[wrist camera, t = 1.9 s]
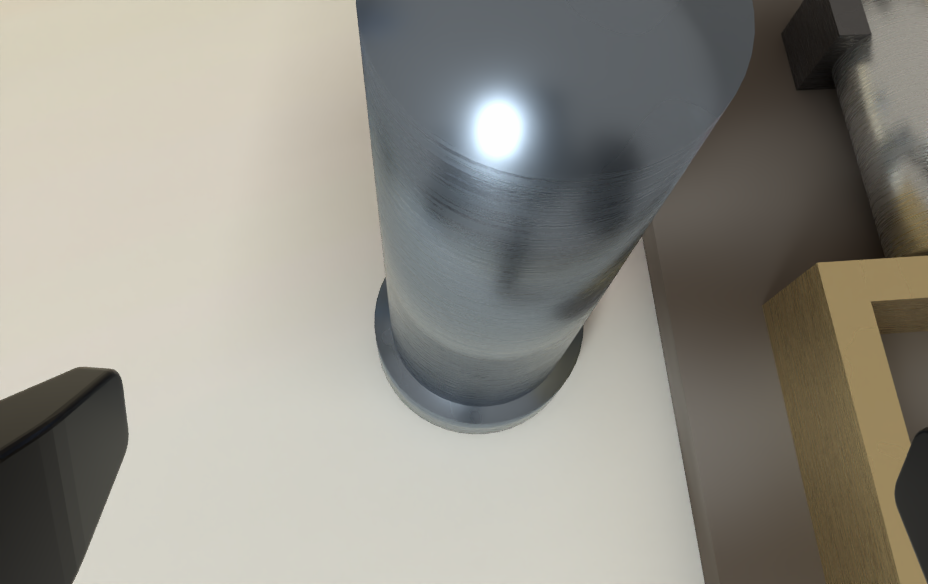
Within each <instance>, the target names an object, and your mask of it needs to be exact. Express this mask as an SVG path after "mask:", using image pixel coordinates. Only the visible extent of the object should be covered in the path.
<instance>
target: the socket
mask: <svg viewBox="0 0 928 584" xmlns="http://www.w3.org/2000/svg"><path fill="white" fill-rule="evenodd" d="M781 36H782V40H783V44H784V47H785V51H786V55H787V58H788V62H789V66H790V69H791V73H792V77H793V81H794V84H795V88H796V91H799V90H822V89H836V91H837V94H838V97H839V101H840V104H841V108H842V111H843V115H844V118H845V121H846V125H847V128H848V132H849V135H850V139H851V142H852V145H853V149H854V152H855V156H856V159H857V162H858V166H859V169H860V173H861V176H862V180H863V183H864V186H865V190H866V193H867V197H868V200H869V204H870V207H871V210H872V214H873V217H874V221H875V224H876V228H877V231H878V234H879V238H880V241H881V245H882V248H883V252H884V255H885V258H882V259H866V260H851V261H835V262H819V263H816V264H815V265H813V266H812V267H811V268H810V269H808V270H807V271H806V272H804V273H803V274H802V275H801V276H799V277H798V278H797V279H796V280H794V281H793V282H792V283H790V284H789V285H788V286H787V287H785V288H784V289H783V290H781V291H780V292H779V293H778V294H776V295H775V296H774V297H772V298H771V299H770V300H769V301H767V302H766V303H765V304H764V305H762V307H763V312H764V316H765V321H766V325H767V329H768V334H769V338H770V342H771V347H772V351H773V355H774V360H775V364H776V368H777V373H778V377H779V382H780V386H781V390H782V395H783V399H784V403H785V408H786V412H787V416H788V421H789V425H790V430H791V434H792V438H793V443H794V447H795V451H796V456H797V460H798V464H799V469H800V473H801V478H802V482H803V486H804V491H805V495H806V499H807V504H808V508H809V512H810V517H811V521H812V525H813V530H814V534H815V539H816V543H817V547H818V552H819V556H820V560H821V565H822V569H823V573H824V578H825V582H826V584H927V582H926V580H925V577H924V575H923V572H922V570H921V567H920V565H919V562H918V560H917V557H916V555H915V552H914V550H913V547H912V545H911V542H910V540H909V537H908V535H907V532H906V529H905V527H904V524H903V522H902V519H901V517H900V514H899V512H898V509H897V506H896V503H895V496H894V491H895V484H896V481H897V478H898V476H899V473H900V471H901V468H902V466H903V463H904V461H905V458H906V456H907V453H908V451H909V448H910V446H911V443H910V440H909V436H908V433H907V429H906V425H905V422H904V418H903V415H902V411H901V408H900V404H899V400H898V397H897V393H896V390H895V386H894V383H893V379H892V375H891V372H890V368H889V365H888V361H887V357H886V354H885V350H884V347H883V343H882V340H881V336H880V334H891V333H905V332H919V331H928V0H804V1H803V2H802V4H801V5H800V7H799V8H798V9H797V11H796V12H795V14H794V15H793V17H792V18H791V20H790V21H789V23H788V24H787V26H786V27H785V29H784V30H783V32H782V33H781Z"/></svg>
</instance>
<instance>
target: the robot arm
mask: <svg viewBox="0 0 928 584" xmlns="http://www.w3.org/2000/svg"><path fill="white" fill-rule="evenodd" d="M128 435H129V433H128V423H127V415H126V407H125V399H124V391H123V384H122V380H121V377H120V375H119V373H118V372H117V371H115V370H114V369H107V368H93V367H77V368H74V369H72V370H70V371H68V372H65V373H63V374H61V375H58V376H56V377H54V378H51V379H49V380H47V381H44V382H42V383H40V384H37V385H35V386H33V387H30V388H28V389H26V390H24V391H21V392H19V393H17V394H14V395H12V396H10V397H7V398H5V399H3V400H0V584H72V583H73V581H74V579H75V577H76V575H77V573H78V571H79V569H80V566H81V564H82V562H83V559H84V557H85V555H86V552H87V550H88V547H89V545H90V542H91V539H92V537H93V534H94V532H95V529H96V527H97V524H98V522H99V519H100V517H101V514H102V512H103V509H104V506H105V504H106V501H107V499H108V496H109V494H110V491H111V489H112V486H113V484H114V481H115V479H116V476H117V474H118V471H119V468H120V466H121V463H122V461H123V458H124V456H125V453H126V449H127V445H128ZM894 496H895V503H896V506H897V509H898V512H899V514H900V517H901V519H902V522H903V524H904V527H905V529H906V532H907V535H908V537H909V540H910V542H911V545H912V547H913V550H914V552H915V555H916V557H917V560H918V562H919V565H920V567H921V570H922V572H923V575H924V577H925V580H926V582H927V584H928V427H925V428H923V429H921V430H919V431H918V432H917V434H916V435H915V437H914V438H913V441H912V443H911V446H910V448H909V451H908V453H907V456H906V458H905V461H904V463H903V466H902V468H901V471H900V473H899V476H898V478H897V481H896V484H895V491H894Z"/></svg>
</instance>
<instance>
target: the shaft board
mask: <svg viewBox="0 0 928 584" xmlns="http://www.w3.org/2000/svg"><path fill="white" fill-rule="evenodd" d="M803 1H804V0H752V2H753V8H754V23H755V35H754V42H753V50H752V55H751V59H750V62H749V65H748V68H747V72H746V75H745V77H744V79H743V81H742V83H741V85H740V87H739V89H738V91H737V93H736V95H735V96H734V98H733V99H732V101H731V102H730V104H729V105H728V107H727V108H726V110H725V111H724V113H723V114H722V116H721V117H720V119H719V120H718V122H717V123H716V125H715V126H714V128H713V129H712V131H711V132H710V134H709V135H708V137H707V138H706V140H705V141H704V143H703V145H702V146H701V148H700V149H699V151H698V152H697V154H696V155H695V157H694V158H693V160H692V161H691V163H690V164H689V166H688V167H687V169H686V170H685V172H684V173H683V175H682V176H681V178H680V179H679V181H678V182H677V184H676V185H675V187H674V188H673V190H672V191H671V193H670V194H669V196H668V197H667V199H666V200H665V202H664V203H663V205H662V206H661V208H660V209H659V211H658V212H657V214H656V215H655V217H654V219H653V220H652V222H651V223H650V225H649V226H648V228H647V229H646V231H645V232H644V234H643V235H642V236H643V242H644V248H645V253H646V259H647V264H648V270H649V275H650V281H651V286H652V292H653V297H654V303H655V309H656V314H657V320H658V325H659V331H660V336H661V342H662V347H663V353H664V358H665V364H666V369H667V375H668V381H669V386H670V392H671V397H672V403H673V408H674V414H675V419H676V425H677V430H678V436H679V442H680V447H681V453H682V458H683V464H684V469H685V475H686V480H687V486H688V491H689V497H690V502H691V508H692V514H693V519H694V525H695V530H696V536H697V541H698V547H699V552H700V558H701V563H702V569H703V575H704V580H705V584H826V582H825V578H824V573H823V569H822V565H821V560H820V556H819V552H818V547H817V543H816V539H815V534H814V530H813V525H812V521H811V517H810V512H809V508H808V504H807V499H806V495H805V491H804V486H803V482H802V478H801V473H800V469H799V464H798V460H797V456H796V451H795V447H794V443H793V438H792V434H791V430H790V425H789V421H788V416H787V412H786V408H785V403H784V399H783V395H782V390H781V386H780V382H779V377H778V373H777V368H776V364H775V360H774V355H773V351H772V347H771V342H770V338H769V334H768V329H767V325H766V321H765V316H764V312H763V307H762V305H764V304H765V303H766V302H767V301H769V300H770V299H771V298H772V297H774V296H775V295H776V294H778V293H779V292H780V291H781V290H783V289H784V288H785V287H787V286H788V285H789V284H790V283H792V282H793V281H794V280H796V279H797V278H798V277H799V276H801V275H802V274H803V273H804V272H806V271H807V270H808V269H810V268H811V267H812V266H813V265H815V264H816V263H819V262H835V261H851V260H866V259H882V258H885V255H884V252H883V248H882V245H881V241H880V238H879V234H878V231H877V228H876V224H875V221H874V217H873V214H872V210H871V207H870V204H869V200H868V197H867V193H866V190H865V186H864V183H863V180H862V176H861V173H860V169H859V166H858V162H857V159H856V156H855V152H854V149H853V145H852V142H851V139H850V135H849V132H848V128H847V125H846V121H845V118H844V115H843V111H842V108H841V104H840V101H839V97H838V94H837V91H836V89H822V90H799V91H796V88H795V84H794V81H793V77H792V73H791V69H790V66H789V62H788V58H787V55H786V51H785V47H784V44H783V40H782V36H781V33H782V32H783V30H784V29H785V27H786V26H787V24H788V23H789V21H790V20H791V18H792V17H793V15H794V14H795V12H796V11H797V9H798V8H799V7H800V5H801V4H802V2H803ZM880 336H881V340H882V343H883V347H884V350H885V354H886V357H887V361H888V365H889V368H890V372H891V375H892V379H893V383H894V386H895V390H896V393H897V397H898V400H899V404H900V408H901V411H902V415H903V418H904V422H905V425H906V429H907V433H908V436H909V440H910V443H912V441H913V438H914V437H915V435H916V434H917V432H918V431H919V430H921V429H923V428H925V427H928V331H919V332H905V333H891V334H880Z"/></svg>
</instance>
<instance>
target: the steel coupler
mask: <svg viewBox="0 0 928 584" xmlns="http://www.w3.org/2000/svg"><path fill="white" fill-rule="evenodd" d="M356 8H357V18H358V27H359V36H360V45H361V54H362V64H363V73H364V82H365V91H366V100H367V110H368V119H369V128H370V137H371V146H372V156H373V165H374V174H375V183H376V192H377V202H378V211H379V220H380V229H381V238H382V248H383V257H384V266H385V275H386V277H385V279H384V281H383V284H382V286H381V288H380V291H379V295H378V298H377V302H376V309H375V333H376V341H377V347H378V352H379V357H380V361H381V365H382V368H383V371H384V373H385V375H386V378H387V380H388V382H389V383H390V385H391V387H392V389H393V390H394V392H395V393H396V394H397V395H398V397H399V398H400V399H401V401H402V402H403V403H404V404H406V405H407V406H408V407H409V408H410V409H411V410H412V411H413V412H415V413H416V414H417V415H419V416H420V417H421V418H423V419H425V420H426V421H428V422H430V423H432V424H434V425H436V426H439V427H441V428H444V429H447V430H451V431H455V432H459V433H467V434H487V433H494V432H499V431H503V430H506V429H510V428H512V427H515V426H517V425H519V424H522V423H523V422H525V421H527V420H528V419H530V418H532V417H533V416H535V415H536V414H537V413H538V412H539V411H541V410H542V409H543V408H544V407H545V406H546V405H547V404H548V403H549V402H550V401H551V400H552V398H553V397H554V396H555V395H556V393H557V392H558V391H559V389H560V388H561V387H562V385H563V384H564V382H565V381H566V380H567V378H568V377H569V375H570V374H571V372H572V370H573V368H574V366H575V364H576V361H577V358H578V355H579V352H580V349H581V344H582V338H583V324H584V323H585V321H586V320H587V318H588V317H589V315H590V314H591V312H592V311H593V309H594V308H595V306H596V305H597V303H598V302H599V300H600V299H601V297H602V296H603V294H604V293H605V291H606V289H607V288H608V286H609V285H610V283H611V282H612V280H613V279H614V277H615V276H616V274H617V273H618V271H619V270H620V268H621V267H622V265H623V264H624V262H625V261H626V259H627V258H628V256H629V255H630V253H631V252H632V250H633V249H634V247H635V246H636V244H637V243H638V241H639V240H640V238H641V237H642V235H643V234H644V232H645V231H646V229H647V228H648V226H649V225H650V223H651V222H652V220H653V219H654V217H655V215H656V214H657V212H658V211H659V209H660V208H661V206H662V205H663V203H664V202H665V200H666V199H667V197H668V196H669V194H670V193H671V191H672V190H673V188H674V187H675V185H676V184H677V182H678V181H679V179H680V178H681V176H682V175H683V173H684V172H685V170H686V169H687V167H688V166H689V164H690V163H691V161H692V160H693V158H694V157H695V155H696V154H697V152H698V151H699V149H700V148H701V146H702V145H703V143H704V141H705V140H706V138H707V137H708V135H709V134H710V132H711V131H712V129H713V128H714V126H715V125H716V123H717V122H718V120H719V119H720V117H721V116H722V114H723V113H724V111H725V110H726V108H727V107H728V105H729V104H730V102H731V101H732V99H733V98H734V96H735V95H736V93H737V91H738V89H739V87H740V85H741V83H742V81H743V79H744V77H745V75H746V72H747V68H748V65H749V62H750V59H751V55H752V50H753V42H754V35H755V23H754V8H753V2H752V0H356Z"/></svg>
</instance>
